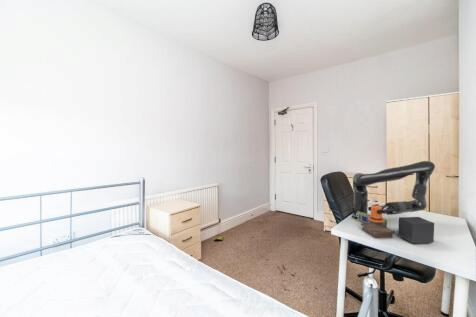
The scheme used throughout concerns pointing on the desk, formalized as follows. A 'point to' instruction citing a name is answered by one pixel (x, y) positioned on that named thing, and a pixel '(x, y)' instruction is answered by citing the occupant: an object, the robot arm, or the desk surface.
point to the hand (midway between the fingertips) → (373, 210)
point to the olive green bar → (364, 218)
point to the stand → (377, 230)
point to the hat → (374, 215)
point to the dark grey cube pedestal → (416, 230)
